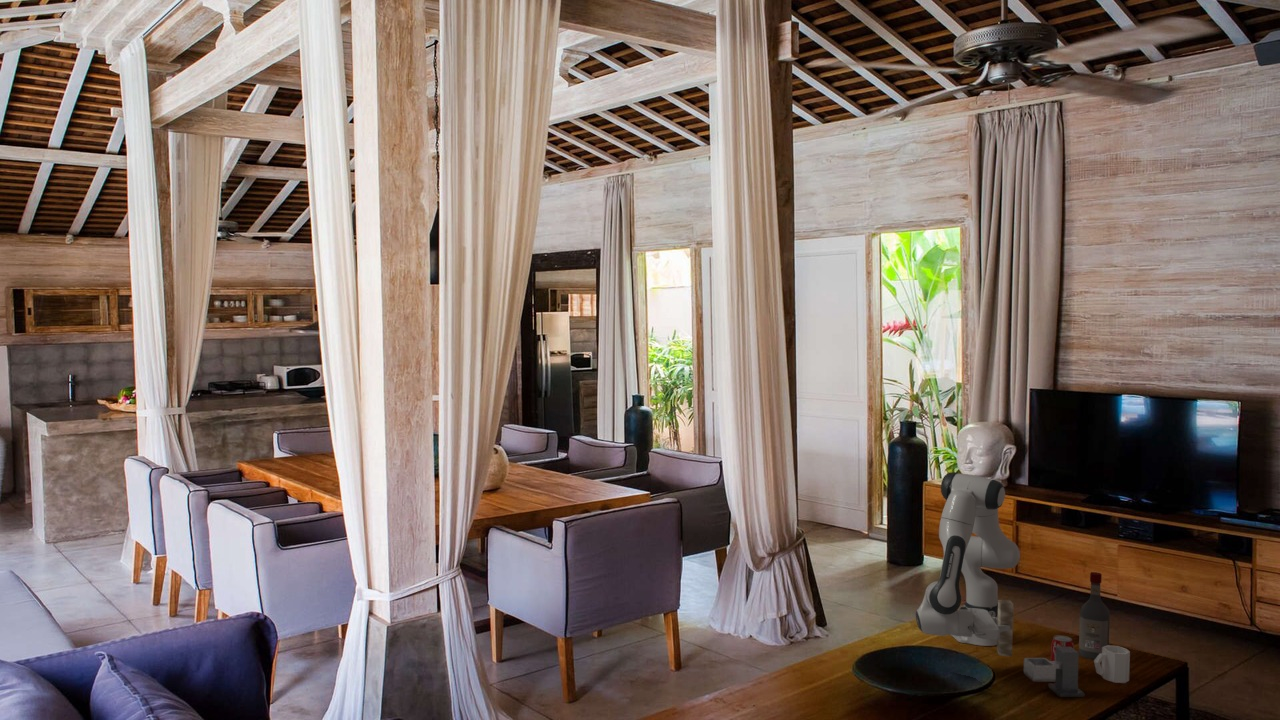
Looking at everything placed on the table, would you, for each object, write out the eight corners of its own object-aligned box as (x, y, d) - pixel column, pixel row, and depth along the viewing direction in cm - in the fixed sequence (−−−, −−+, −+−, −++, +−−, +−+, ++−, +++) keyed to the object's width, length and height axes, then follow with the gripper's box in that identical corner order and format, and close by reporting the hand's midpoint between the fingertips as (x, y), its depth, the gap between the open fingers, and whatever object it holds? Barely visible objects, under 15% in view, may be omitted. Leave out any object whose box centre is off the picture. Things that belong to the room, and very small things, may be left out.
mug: (1116, 672, 324) (1117, 644, 324) (1135, 682, 316) (1135, 653, 315) (1086, 675, 321) (1087, 647, 321) (1104, 685, 313) (1105, 656, 312)
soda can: (1075, 677, 320) (1076, 642, 319) (1053, 675, 321) (1054, 640, 321) (1070, 669, 327) (1071, 635, 326) (1048, 667, 328) (1049, 633, 327)
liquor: (1106, 662, 333) (1108, 578, 332) (1078, 657, 338) (1080, 574, 336) (1109, 654, 341) (1111, 572, 339) (1081, 649, 346) (1083, 568, 344)
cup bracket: (1033, 697, 303) (1034, 654, 302) (1022, 687, 311) (1023, 645, 310) (1084, 696, 304) (1085, 654, 303) (1072, 686, 312) (1073, 645, 311)
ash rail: (999, 655, 319) (1000, 603, 318) (996, 651, 323) (998, 599, 322) (1012, 656, 319) (1013, 604, 318) (1009, 651, 323) (1010, 600, 321)
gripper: (971, 624, 312) (1015, 626, 310) (959, 604, 332) (1001, 606, 330) (971, 643, 312) (1015, 645, 310) (959, 621, 332) (1000, 623, 330)
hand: (1007, 625), depth 320 cm, fingers closed on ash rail, 4 cm apart
